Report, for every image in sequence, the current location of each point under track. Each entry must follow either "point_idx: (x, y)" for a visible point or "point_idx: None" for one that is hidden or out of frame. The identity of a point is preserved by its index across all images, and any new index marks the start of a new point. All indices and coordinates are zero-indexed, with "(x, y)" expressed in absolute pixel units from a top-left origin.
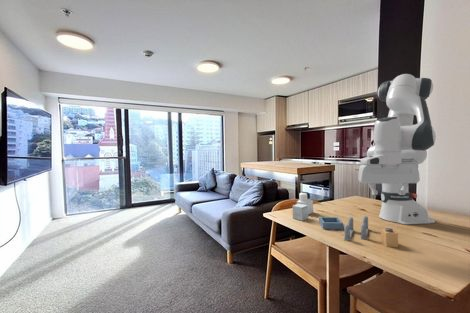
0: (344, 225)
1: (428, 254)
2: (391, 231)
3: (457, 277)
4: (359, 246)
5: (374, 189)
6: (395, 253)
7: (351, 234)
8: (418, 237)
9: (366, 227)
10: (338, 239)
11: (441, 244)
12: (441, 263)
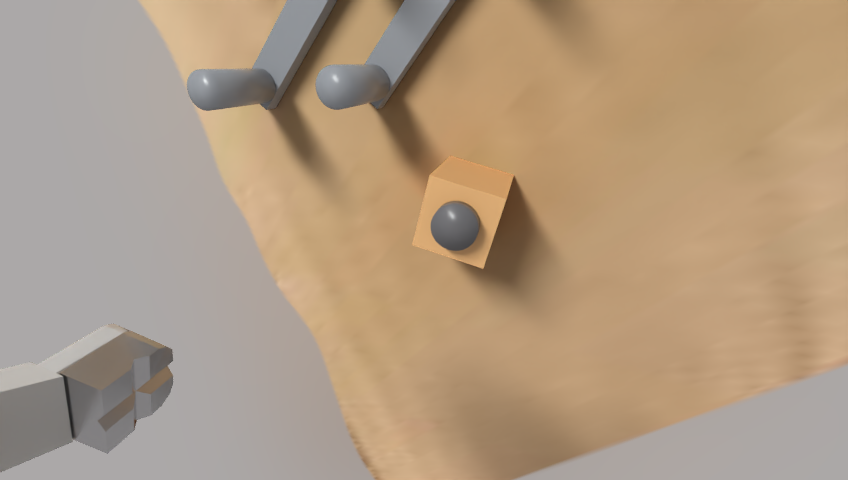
0: (187, 84)
1: (567, 340)
2: (454, 247)
3: (489, 470)
4: (295, 184)
5: (38, 452)
6: (419, 290)
7: (308, 36)
8: (788, 143)
9: (358, 102)
10: None
11: (801, 276)
12: (536, 405)
